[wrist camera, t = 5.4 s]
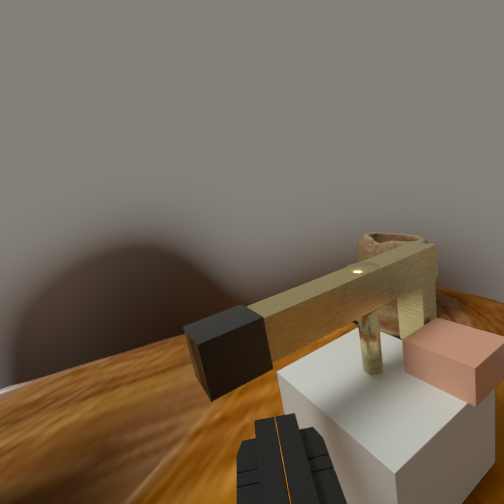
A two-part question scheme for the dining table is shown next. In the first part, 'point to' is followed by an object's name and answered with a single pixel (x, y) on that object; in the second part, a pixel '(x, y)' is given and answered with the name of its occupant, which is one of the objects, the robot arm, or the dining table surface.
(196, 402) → the dining table surface
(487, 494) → the dining table surface
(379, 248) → the stone cup
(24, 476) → the dining table surface
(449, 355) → the block
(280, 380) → the box
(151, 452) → the dining table surface
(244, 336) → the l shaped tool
